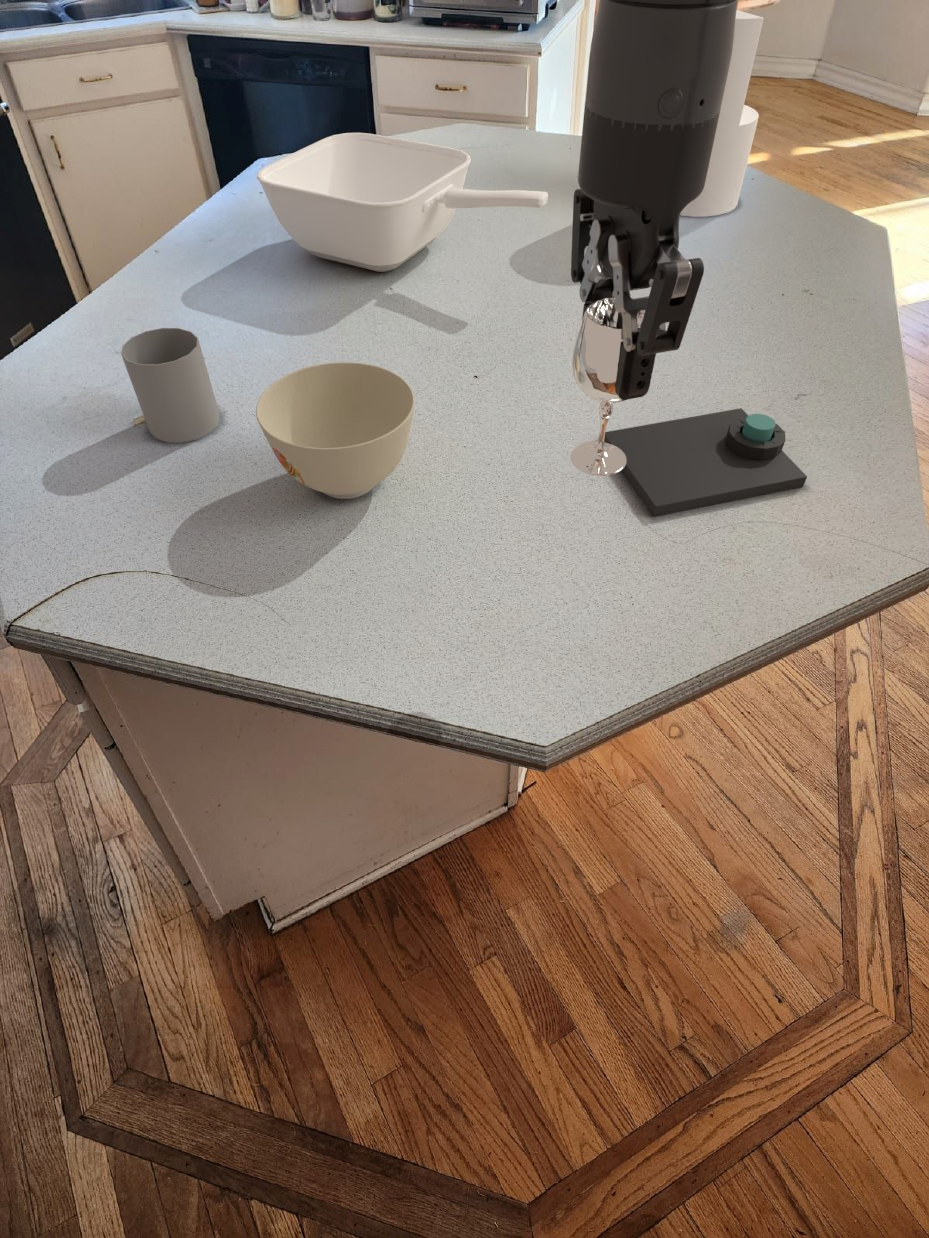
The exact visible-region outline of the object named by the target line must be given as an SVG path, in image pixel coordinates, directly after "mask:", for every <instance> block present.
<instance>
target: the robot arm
mask: <svg viewBox="0 0 929 1238" xmlns="http://www.w3.org/2000/svg"><path fill="white" fill-rule="evenodd" d="M738 4H739V0H599V1H598V7H597V14H596V18H595V23H594V27H593V32H592V38H591V42H590V47H589V49H590V50H589V58H588V67H587V68H588V69H587V77H586V88H585V89H586V90H585V91H586V92H585V102H584V107H583V108H584V109H583V121H582V130H581V131H582V132H581V142H580V152H579V160H578V172H577V183H578V187H579V188H577V189H575V190H574V192H573V201H572V203H573V205H572V229H571V230H572V231H571V236H572V237H571V255H570V256H571V259H570V260H571V261H570V277H571V282H572V283H574V284H577V283H580V286H579V297H580V301H581V302H582V303H583V308H582V315H581V316H582V317H581V321H582V320H583V317H584V314H585V312H586V309H587V307H588V306H589V305H590V304H591V303H593V302H595V301H597V300H600V299H604V298H613V297H614V304H615V310H616V311H617V312H618V313H620V314H621V315H622V323H623V344H624V346H622V350H621V356H620V363H619V369H618V375H617V382H616V388H615V392H616V394H617V395H618V396H619V398H620V399H622V400H625V401H628V400H633V399H638V398H642V397H644V396H646V395H647V394H648V392H649V389H650V387H651V382H652V381H651V380H652V376H653V371H654V367H655V363H654V361H655V362H656V356H657V354H660V353H666V352H673V351H678V350H679V349H680V347H681V346H682V341H683V338H684V336H685V332H686V329H687V326H688V322H689V320H690V316H691V314H692V312H693V311H692V310H693V308H694V304H695V301H696V298H697V295H698V292H699V289H700V286H701V282H702V280H703V276H704V273H705V265H704V261H703V260H702V258H701V257H695V258H688V259H686V258H685V257H684V255H683V254H682V253H681V252H680V251H679V245H680V232H679V231H680V226H679V225H680V216H681V215H680V213H681V211H682V210H683V209H684V208H685V207H686V206H687V205H688V204H689V203H690V202H691V201H693V200H695V199H696V198H697V197H698V196H699V195H700V194H701V192H702V191H703V189H704V186H705V181H706V176H707V172H708V167H709V162H710V157H711V152H712V148H713V143H714V138H715V133H716V129H717V124H718V119H719V114H720V110H721V104H722V100H723V95H724V90H725V85H726V81H727V76H728V71H729V66H730V61H731V56H732V49H733V41H734V30H735V19H736V11H737V10H738ZM585 250H586V251H585ZM645 289H650V290H649V294H648V295H647V296H641V297H633V296H632V294H631V291H632V292H633V291H639V290H645ZM641 310H645V313H644V317H643V321H642V324H641V328H640V330H638V323H637V315H638V313H639V311H641ZM667 323H668V325H667V329H666V324H667ZM627 399H628V400H627Z"/></svg>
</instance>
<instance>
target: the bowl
mask: <svg viewBox="0 0 929 1238" xmlns="http://www.w3.org/2000/svg"><path fill="white" fill-rule="evenodd" d="M415 402H416V401H415V394H414V392H413V390H412V387H411V386H410V384H409V383H408V382H407V381H406V380H405V379H403V378H402V377H401V376H400V375H398V374H397V373H395V372H393V371H391V370H390V369H389V370H388V369H387V368H383V367H380V366H377V365H373V364H370V363H369V364H368V363H362V362H348V361H347V362H344V361H342V362H341V361H340V362H339V361H338V362H328V363H321V364H315V365H311V366H307V367H304V368H303V367H302V368H301V369H298V370H295V371H292V372H290V373H288V374H286V375H283V376H282V377H280V378H278V379H277V380H275V381H274V382H273V383H272V384H270V385H269V386H268V387H267V388H266V389H265V390H264V391H263V393H262V394H261V395H260V397H259V399H258V401H257V403H256V407H255V415H256V420H257V423H258V425H259V427H260V429H261V431H262V433H263V435H264V437H265V439H266V441H267V443H268V444H269V447H270V448H271V450H272V452H273V453H274V455H275V457H276V458H277V461H278V462H279V463H280V465H281V467H283V468H284V470H285V471H286V472H287V473H288V474H289V475H290V476H291V478H293V479H294V480H295V481H297V482H299V483H300V484H302V485H303V486H305V487H307V488H309V489H312V490H314V491H317V492H320V493H323V494H324V495H326V496H328V497H330V498H333V499H338V500H352V499H357V498H359V497H362V496H365V495H366V494H368V493H369V492H370V491H371V490H372V489H374V487H375V486H377V485H379V484H380V483H381V482H383V481H385V480H386V479H387V478H388V477H389V476H390V475H391V474H392V473H393V472H394V470H395V469H396V468H397V467H398V466H399V464H400V463H401V460H402V458H403V456H404V454H405V452H406V449H407V447H408V442H409V437H410V432H411V427H412V421H413V418H414V417H413V416H414V411H415V404H416V403H415Z"/></svg>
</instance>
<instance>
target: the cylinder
mask: <svg viewBox="0 0 929 1238" xmlns="http://www.w3.org/2000/svg"><path fill="white" fill-rule="evenodd" d="M764 19H765V17H764V16H759V15H757V14H752V13H749V12H746V11H742V10H738V9H737V11H736V19H735V30H734V41H733V49H732V56H731V61H730V66H729V71H728V76H727V81H726V85H725V90H724V95H723V100H722V104H721V110H720V114H719V119H718V124H717V129H716V133H715V138H714V143H713V148H712V152H711V157H710V162H709V167H708V172H707V176H706V181H705V186H704V189H703V191H702V192H701V194H700V195H699V196H698V197H697V198H696V199H695V200H693V201H691V202H690V203H689V204H688V205H687V206H686V207H685V208H684V209H683V210H682V211H681V213H680V215H679V216H681V217H691V218H692V217H693V218H699V217H704V218H705V217H715V216H721V215H723V214H728V213H730V212H731V211H733V210H735V209H736V208H737V206H738V203H739V199H740V195H741V191H742V187H743V183H744V179H745V175H746V171H747V167H748V162H749V158H750V155H751V150H752V147H753V144H754V143H753V142H754V138H755V133H756V130H757V126H758V122H759V118H760V115H759V112H758V111H757V110H756V109H754V108H753V107H750V106H749V105H747V104H745V102H746V98H747V95H748V94H747V93H748V90H749V86H750V80H751V77H752V72H753V67H754V63H755V59H756V55H757V50H758V46H759V41H760V37H761V33H762V28H763V24H764Z"/></svg>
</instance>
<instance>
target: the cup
mask: <svg viewBox="0 0 929 1238" xmlns="http://www.w3.org/2000/svg"><path fill="white" fill-rule="evenodd" d="M120 355H121V358H122V360H123V363H124V366H125V369H126V372H127V374H128V377H129V379H130V383H131V385H132V389H133V391H134V393H135V396H136V399H137V402H138V404H139V407H140V410H141V412H142V415H143V417H144V421H145V422H146V426H147V429H148V431H149V433H150V434H151V436H152V437H153V438H154V439H156V440H158V441H161V442H165V443H167V444H184V443H188V442H193V441H197V440H201V439H202V438H204V437H206V436H208V435H210V434H211V433H213V432H214V431H215V429H216V428H217V427H218V426H219V425H220V422H221V421H220V419H221V418H220V417H221V416H220V411H219V407H218V404H217V400H216V397H215V392H214V389H213V386H212V382H211V378H210V374H209V372H208V369H207V364H206V360H205V357H204V354H203V351H202V346H201V343H200V340H199V337H197V336H196V335H195V333H193V332H192V331H191V330H186V329H183V328H180V327H161V328H156V329H155V328H154V329H150V330H146V331H143V332H141V333H139V334H136V335H134V336H132V337H130V339H128V340H127V341H126V342H125V343H123V345H122V347H121V352H120Z"/></svg>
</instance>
